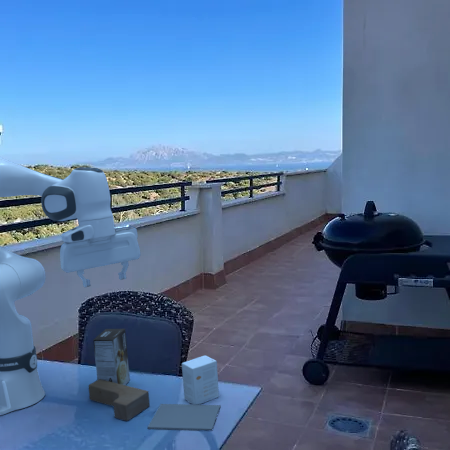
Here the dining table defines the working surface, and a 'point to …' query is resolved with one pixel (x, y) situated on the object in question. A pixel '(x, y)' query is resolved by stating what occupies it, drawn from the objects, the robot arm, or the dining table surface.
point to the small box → (200, 380)
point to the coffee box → (112, 356)
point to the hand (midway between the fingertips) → (105, 282)
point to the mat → (184, 417)
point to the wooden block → (119, 398)
